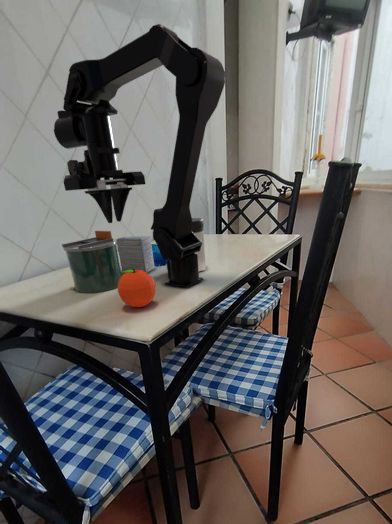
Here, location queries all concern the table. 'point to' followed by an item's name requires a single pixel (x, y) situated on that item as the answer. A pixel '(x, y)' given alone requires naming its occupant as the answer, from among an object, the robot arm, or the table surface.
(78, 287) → the canister
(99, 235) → the slider
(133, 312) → the table surface
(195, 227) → the jar
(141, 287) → the clementine
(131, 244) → the medicine box
